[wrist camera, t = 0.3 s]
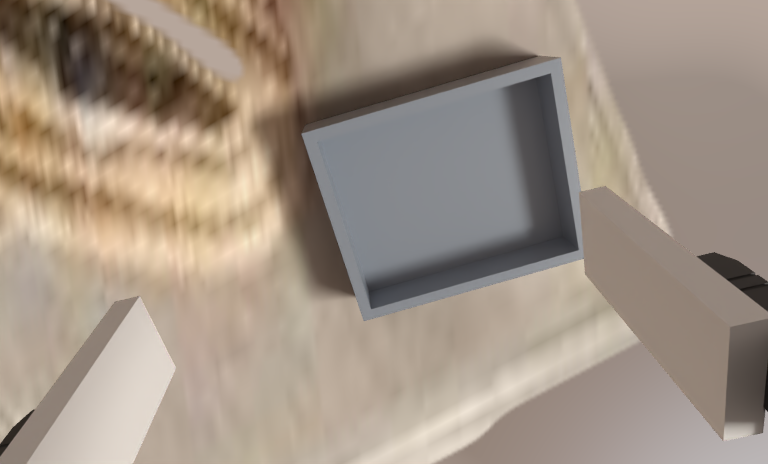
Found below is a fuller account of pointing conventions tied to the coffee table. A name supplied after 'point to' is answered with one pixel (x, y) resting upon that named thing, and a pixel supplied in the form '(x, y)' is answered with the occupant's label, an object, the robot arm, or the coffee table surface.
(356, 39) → the coffee table surface
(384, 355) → the coffee table surface
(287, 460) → the coffee table surface
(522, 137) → the tote
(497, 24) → the coffee table surface
